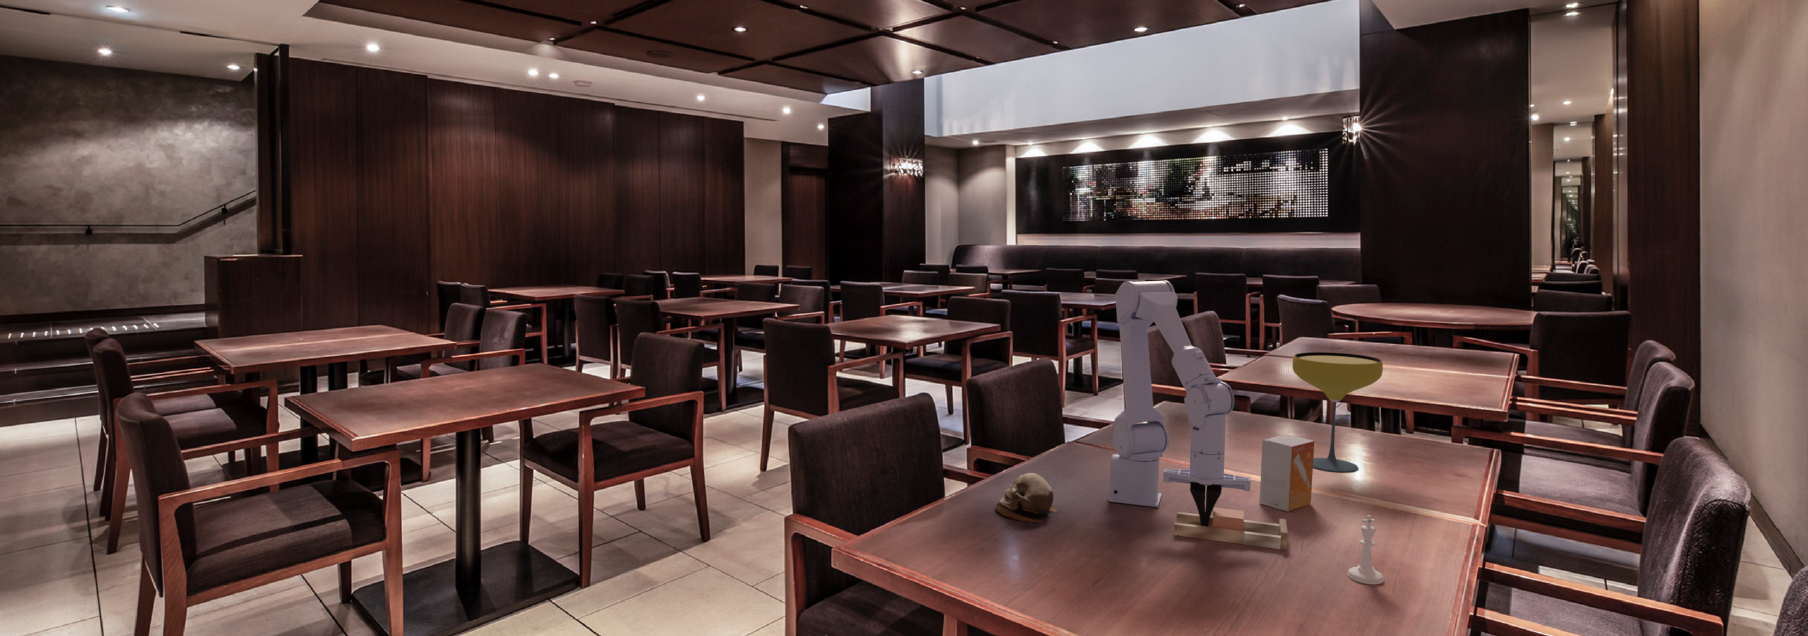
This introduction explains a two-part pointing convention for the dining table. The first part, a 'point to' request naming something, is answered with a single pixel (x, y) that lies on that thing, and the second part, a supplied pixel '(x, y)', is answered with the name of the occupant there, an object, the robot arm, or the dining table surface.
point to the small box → (1286, 472)
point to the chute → (1234, 531)
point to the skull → (1027, 499)
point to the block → (1228, 519)
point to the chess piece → (1366, 558)
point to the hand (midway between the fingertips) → (1204, 524)
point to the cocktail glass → (1336, 387)
